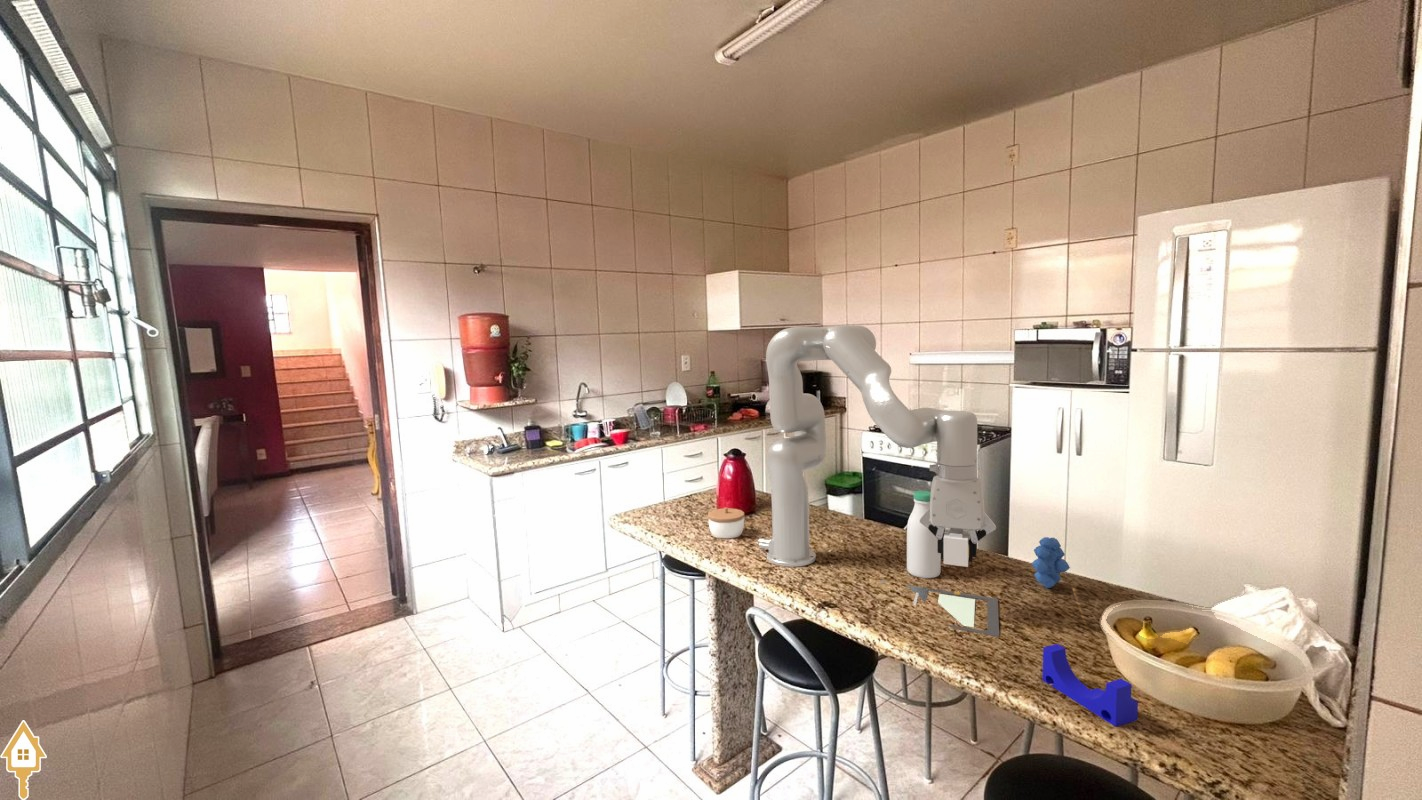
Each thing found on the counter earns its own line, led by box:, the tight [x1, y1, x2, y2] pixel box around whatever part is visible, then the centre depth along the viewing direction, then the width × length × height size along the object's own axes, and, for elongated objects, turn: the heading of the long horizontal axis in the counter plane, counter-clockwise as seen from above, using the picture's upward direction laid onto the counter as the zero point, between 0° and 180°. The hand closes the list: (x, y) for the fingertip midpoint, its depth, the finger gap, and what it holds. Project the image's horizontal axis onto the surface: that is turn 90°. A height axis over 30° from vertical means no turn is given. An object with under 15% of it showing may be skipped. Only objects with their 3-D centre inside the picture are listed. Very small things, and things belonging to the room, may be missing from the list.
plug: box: [943, 528, 970, 568], centre depth 116 cm, size 5×7×6 cm, turn 154°
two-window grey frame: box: [879, 579, 1000, 638], centre depth 121 cm, size 32×17×1 cm, turn 64°
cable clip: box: [1042, 643, 1139, 728], centre depth 88 cm, size 12×4×6 cm, turn 19°
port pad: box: [937, 593, 976, 629], centre depth 118 cm, size 7×13×1 cm, turn 154°
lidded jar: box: [707, 507, 745, 539], centre depth 166 cm, size 11×11×9 cm
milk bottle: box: [906, 490, 942, 579], centre depth 136 cm, size 8×8×20 cm
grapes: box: [1031, 536, 1071, 589], centre depth 126 cm, size 12×7×12 cm, turn 126°
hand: (956, 557), depth 117 cm, fingers closed on plug, 4 cm apart
